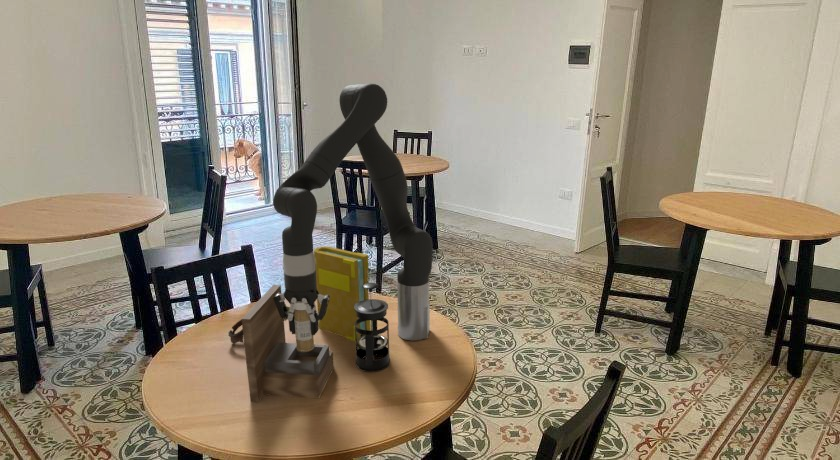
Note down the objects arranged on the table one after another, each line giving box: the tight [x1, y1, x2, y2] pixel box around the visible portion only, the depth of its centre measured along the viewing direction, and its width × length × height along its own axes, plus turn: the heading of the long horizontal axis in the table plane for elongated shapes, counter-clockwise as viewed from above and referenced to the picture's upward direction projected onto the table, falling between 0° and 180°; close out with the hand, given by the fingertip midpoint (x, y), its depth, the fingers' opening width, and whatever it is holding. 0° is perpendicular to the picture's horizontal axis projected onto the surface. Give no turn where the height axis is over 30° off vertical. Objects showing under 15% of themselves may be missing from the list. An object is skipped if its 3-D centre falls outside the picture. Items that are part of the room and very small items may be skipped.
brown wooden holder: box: [241, 284, 335, 403], centre depth 135 cm, size 16×20×22 cm
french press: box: [354, 282, 391, 373], centre depth 142 cm, size 12×9×23 cm
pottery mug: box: [228, 318, 244, 344], centre depth 158 cm, size 12×10×8 cm
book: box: [313, 245, 371, 342], centre depth 161 cm, size 17×7×25 cm, turn 58°
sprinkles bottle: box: [294, 301, 315, 352], centre depth 133 cm, size 5×5×14 cm
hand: (304, 332), depth 134 cm, fingers closed on sprinkles bottle, 4 cm apart
